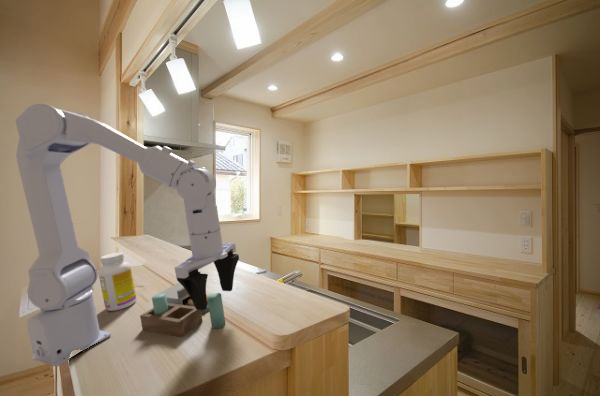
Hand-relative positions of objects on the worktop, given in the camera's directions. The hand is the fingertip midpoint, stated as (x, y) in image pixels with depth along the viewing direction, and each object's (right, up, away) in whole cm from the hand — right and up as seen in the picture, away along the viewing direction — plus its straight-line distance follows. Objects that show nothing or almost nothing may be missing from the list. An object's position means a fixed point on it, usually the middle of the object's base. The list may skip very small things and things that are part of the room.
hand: (215, 299), depth 56 cm
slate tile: (-6, -5, +10) cm, 12 cm away
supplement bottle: (-28, -7, +15) cm, 32 cm away
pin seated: (-12, -6, +3) cm, 14 cm away
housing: (-12, -5, +12) cm, 18 cm away
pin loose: (+1, -5, +1) cm, 5 cm away
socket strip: (-9, -6, +2) cm, 11 cm away
